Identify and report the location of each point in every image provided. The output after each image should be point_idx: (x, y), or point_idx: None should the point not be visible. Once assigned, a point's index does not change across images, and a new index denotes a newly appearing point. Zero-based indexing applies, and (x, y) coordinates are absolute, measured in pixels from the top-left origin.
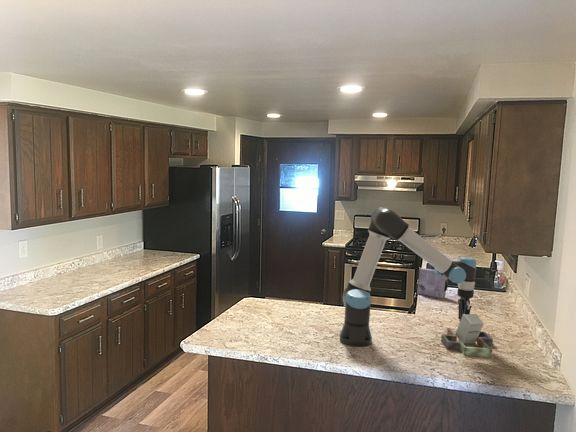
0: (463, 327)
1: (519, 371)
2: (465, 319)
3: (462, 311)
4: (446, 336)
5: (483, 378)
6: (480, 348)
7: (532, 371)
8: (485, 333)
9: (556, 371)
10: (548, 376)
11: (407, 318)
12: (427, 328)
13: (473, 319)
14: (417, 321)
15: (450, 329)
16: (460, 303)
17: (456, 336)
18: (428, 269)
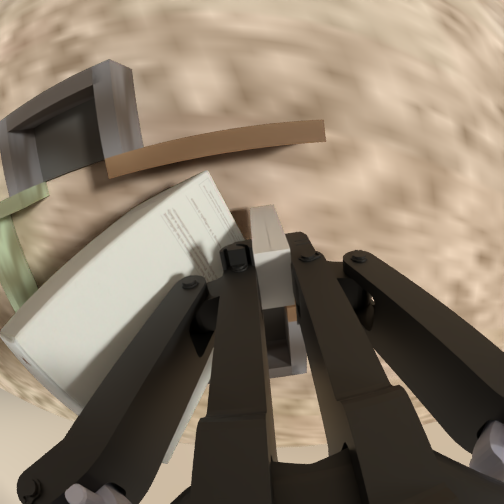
0: (75, 257)
1: (6, 349)
2: (16, 319)
3: (230, 382)
4: (98, 97)
5: None
6: (4, 289)
7: (29, 378)
8: (270, 371)
9: (72, 420)
10: (30, 393)
11: (497, 11)
12: (402, 27)
13: (50, 391)
14: (485, 33)
15: (290, 140)
16: (385, 502)
17: (108, 174)
18: None
